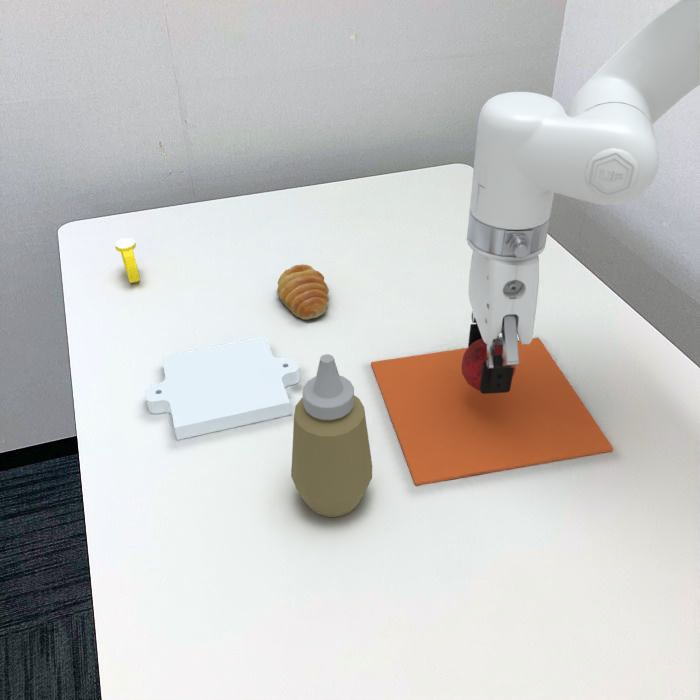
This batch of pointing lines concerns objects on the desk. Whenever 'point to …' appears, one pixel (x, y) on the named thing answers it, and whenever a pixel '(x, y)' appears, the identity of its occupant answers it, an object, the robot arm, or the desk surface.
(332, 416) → the squeeze bottle
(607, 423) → the desk surface
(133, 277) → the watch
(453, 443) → the cloth
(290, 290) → the pastry
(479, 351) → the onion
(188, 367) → the mounting plate
